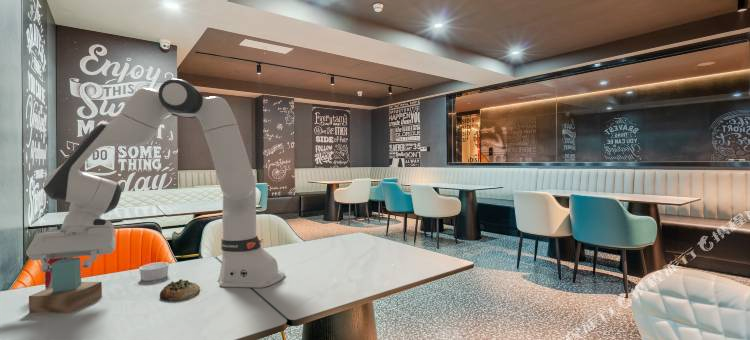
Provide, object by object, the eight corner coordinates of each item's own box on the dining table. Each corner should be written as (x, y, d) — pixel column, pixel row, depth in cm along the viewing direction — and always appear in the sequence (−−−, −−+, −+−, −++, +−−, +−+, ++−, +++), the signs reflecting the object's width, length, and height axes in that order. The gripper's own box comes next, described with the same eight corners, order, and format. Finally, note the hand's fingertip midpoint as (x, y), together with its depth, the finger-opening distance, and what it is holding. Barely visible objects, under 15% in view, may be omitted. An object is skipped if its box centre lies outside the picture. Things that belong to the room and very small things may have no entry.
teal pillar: (81, 284, 102) (80, 257, 102) (75, 289, 98) (74, 261, 97) (59, 287, 100) (58, 259, 100) (52, 292, 95) (51, 264, 95)
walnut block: (101, 298, 104) (101, 281, 104) (69, 314, 93) (68, 295, 93) (66, 298, 104) (65, 282, 104) (29, 314, 93) (28, 296, 93)
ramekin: (158, 282, 117) (158, 269, 117) (133, 282, 117) (132, 269, 117) (174, 273, 126) (174, 261, 126) (150, 273, 126) (150, 262, 126)
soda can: (56, 295, 106) (55, 256, 105) (39, 293, 107) (37, 255, 107) (80, 287, 113) (79, 250, 112) (63, 285, 114) (62, 249, 114)
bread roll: (154, 294, 105) (156, 278, 106) (192, 289, 114) (194, 274, 114) (165, 306, 98) (167, 288, 98) (205, 300, 106) (207, 283, 106)
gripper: (32, 225, 101) (12, 267, 92) (116, 220, 108) (105, 259, 99) (41, 237, 105) (23, 278, 96) (121, 231, 113) (111, 269, 104)
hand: (65, 268), depth 98 cm, fingers open, 8 cm apart
